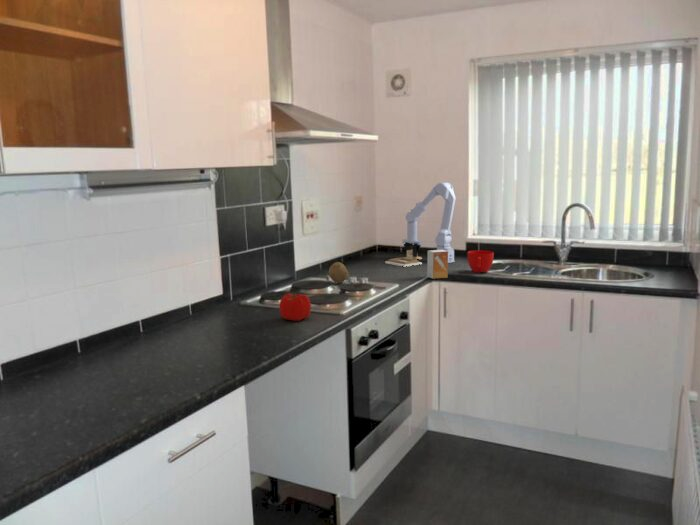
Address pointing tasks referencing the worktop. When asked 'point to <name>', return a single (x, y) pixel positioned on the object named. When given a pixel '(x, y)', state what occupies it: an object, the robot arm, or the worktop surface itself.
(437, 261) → the small box
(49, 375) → the worktop surface
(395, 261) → the keyed base
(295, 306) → the tomato
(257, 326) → the worktop surface
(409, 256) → the flange block
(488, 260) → the ceramic cup
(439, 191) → the robot arm
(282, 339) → the worktop surface
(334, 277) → the coconut
